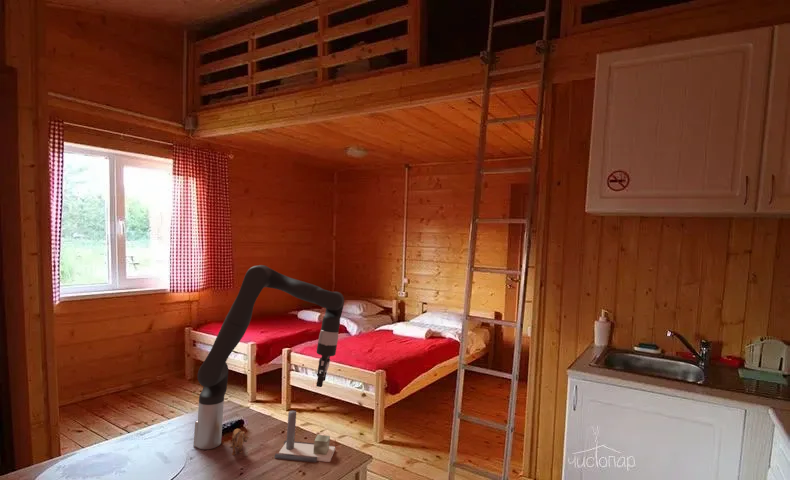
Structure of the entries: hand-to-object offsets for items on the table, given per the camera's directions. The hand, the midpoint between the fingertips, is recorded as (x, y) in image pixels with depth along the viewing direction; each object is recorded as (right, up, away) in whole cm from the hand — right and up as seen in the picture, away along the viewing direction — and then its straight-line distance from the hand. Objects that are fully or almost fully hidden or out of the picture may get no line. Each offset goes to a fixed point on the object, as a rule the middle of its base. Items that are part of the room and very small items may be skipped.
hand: (320, 383), depth 164 cm
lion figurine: (-32, -26, -1) cm, 41 cm away
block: (0, -26, -1) cm, 26 cm away
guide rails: (-8, -27, -1) cm, 28 cm away
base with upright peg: (-5, -27, -1) cm, 28 cm away
